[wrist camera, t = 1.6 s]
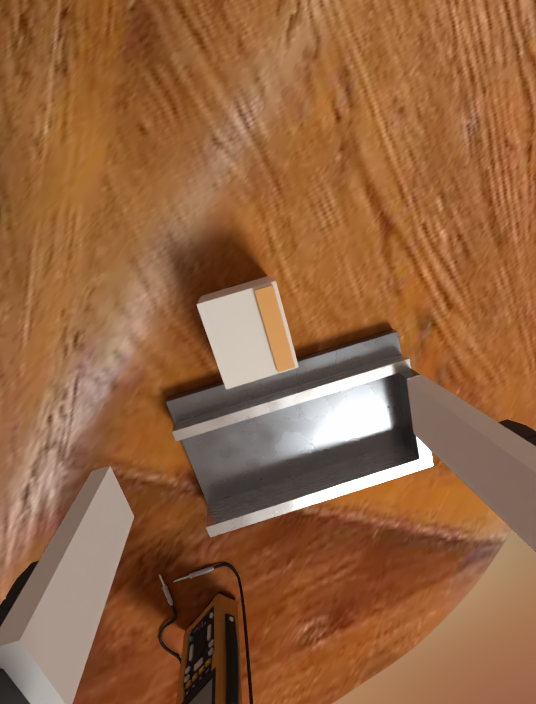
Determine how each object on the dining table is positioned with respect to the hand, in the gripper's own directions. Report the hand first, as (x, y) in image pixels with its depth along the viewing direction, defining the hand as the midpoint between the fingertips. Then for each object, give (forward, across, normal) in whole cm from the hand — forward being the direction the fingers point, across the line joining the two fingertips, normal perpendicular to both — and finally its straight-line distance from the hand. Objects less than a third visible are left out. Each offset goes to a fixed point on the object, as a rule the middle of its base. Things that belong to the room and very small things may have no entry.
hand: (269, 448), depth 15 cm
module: (+17, +1, +2) cm, 17 cm away
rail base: (+17, +3, -10) cm, 20 cm away
